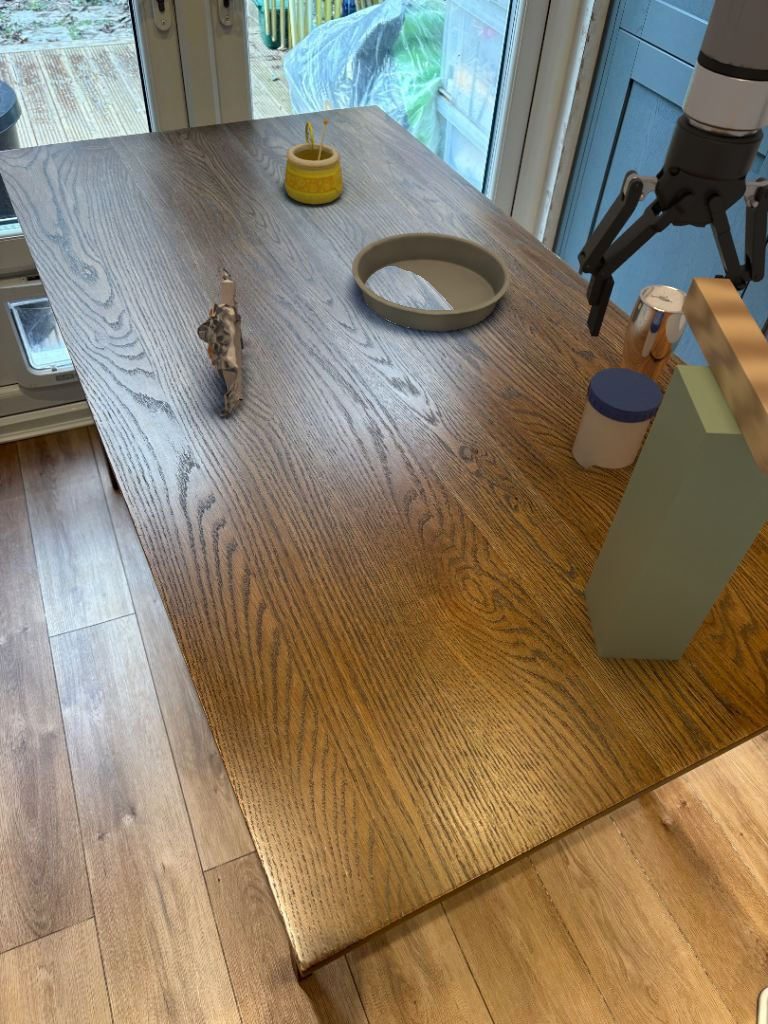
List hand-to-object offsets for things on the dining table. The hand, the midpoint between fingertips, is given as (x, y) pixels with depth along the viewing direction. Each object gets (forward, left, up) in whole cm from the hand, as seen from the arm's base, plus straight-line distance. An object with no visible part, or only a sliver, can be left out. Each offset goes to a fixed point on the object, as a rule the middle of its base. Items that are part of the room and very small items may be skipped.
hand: (646, 332), depth 82 cm
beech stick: (-20, +15, +12) cm, 28 cm away
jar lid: (0, 0, -8) cm, 8 cm away
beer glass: (+8, -12, -18) cm, 23 cm away
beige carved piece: (+34, +37, -18) cm, 53 cm away
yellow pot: (+82, 0, -18) cm, 84 cm away
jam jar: (0, 0, -18) cm, 18 cm away
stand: (-22, +16, -18) cm, 33 cm away
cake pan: (+42, 0, -18) cm, 46 cm away
